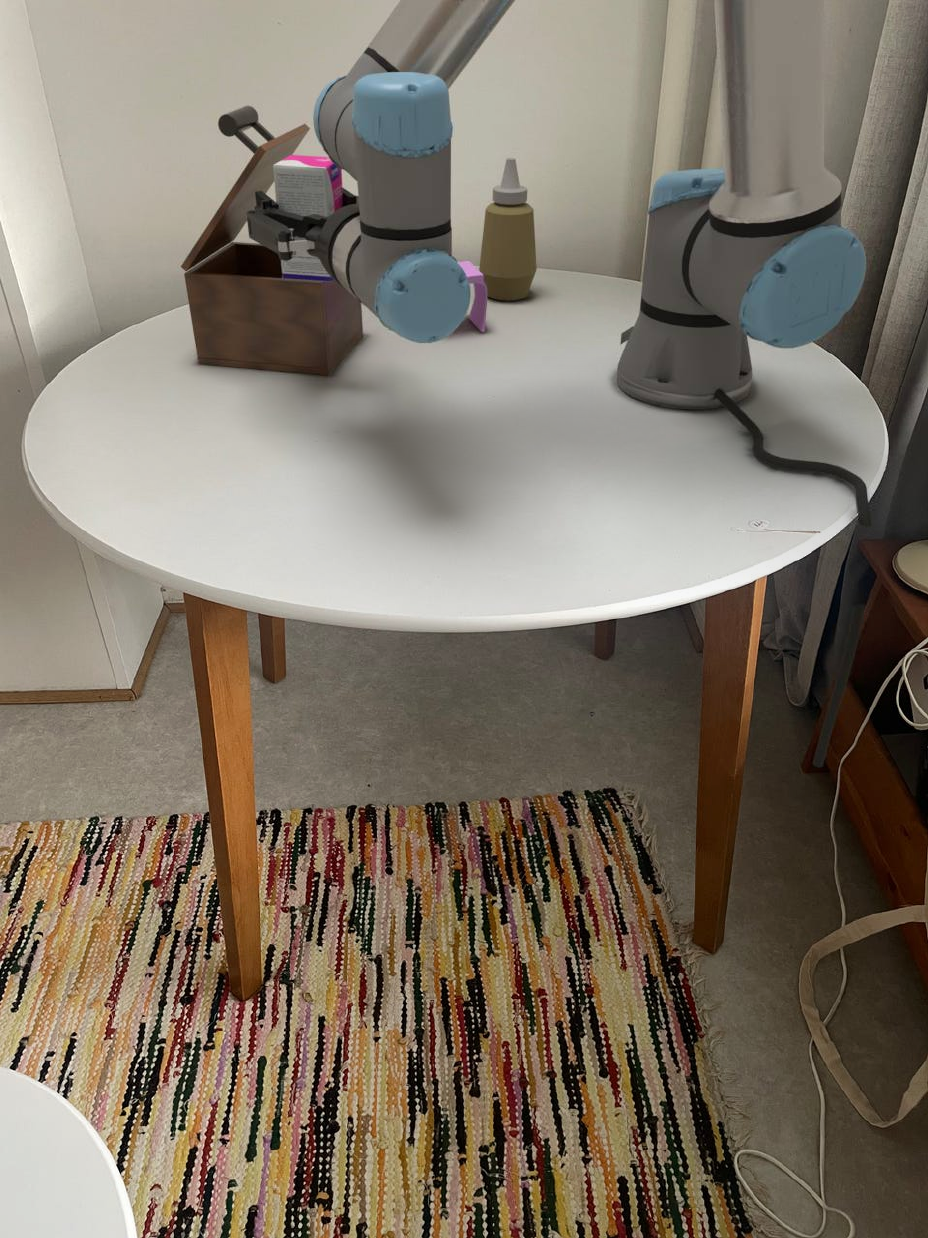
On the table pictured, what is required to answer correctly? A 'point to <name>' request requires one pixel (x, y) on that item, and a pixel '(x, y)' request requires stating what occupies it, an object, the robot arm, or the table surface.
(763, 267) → the robot arm
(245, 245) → the chest
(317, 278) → the supplement box
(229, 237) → the lid
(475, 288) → the toy chair
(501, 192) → the squeeze bottle
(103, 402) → the table surface
